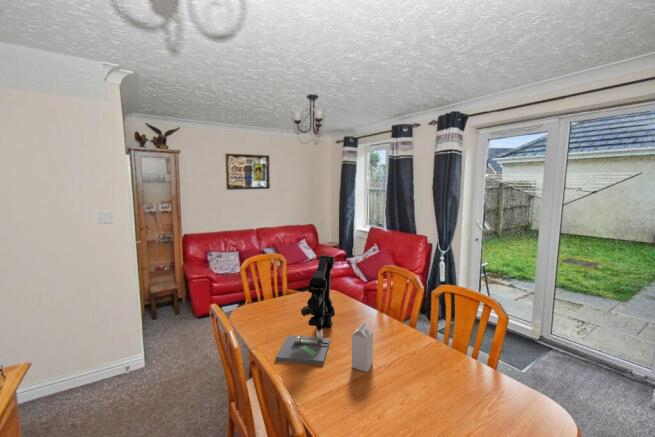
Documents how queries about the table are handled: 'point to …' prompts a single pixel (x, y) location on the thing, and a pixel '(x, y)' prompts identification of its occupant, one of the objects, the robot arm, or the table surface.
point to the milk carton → (362, 348)
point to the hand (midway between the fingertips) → (318, 331)
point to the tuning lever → (319, 340)
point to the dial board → (303, 351)
